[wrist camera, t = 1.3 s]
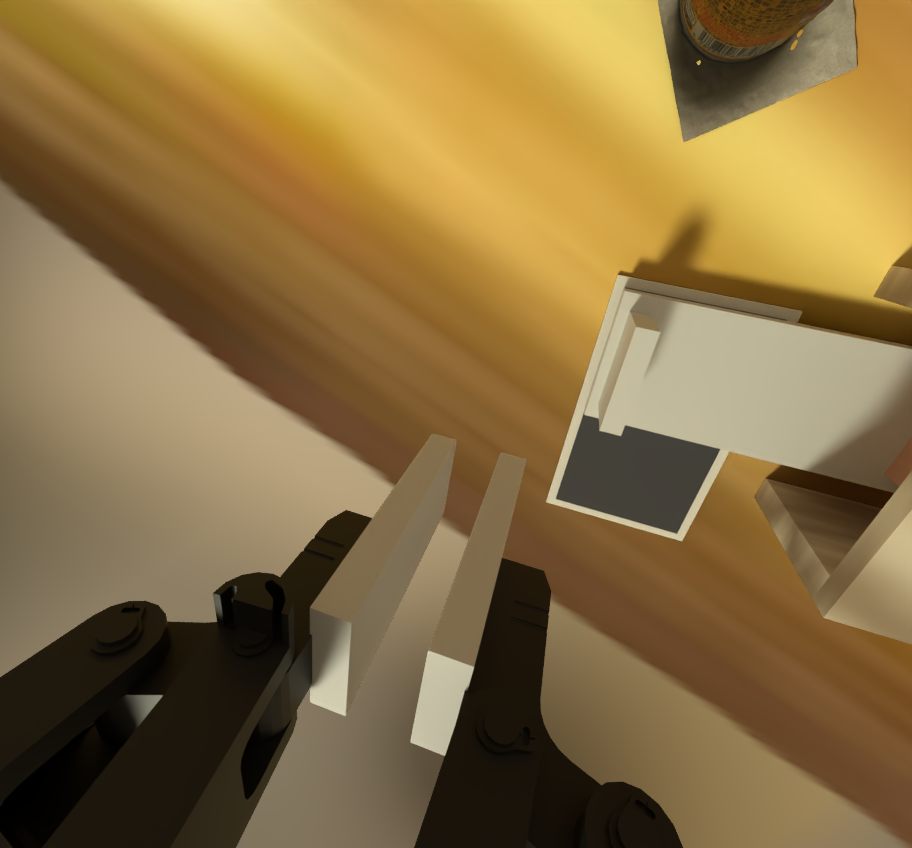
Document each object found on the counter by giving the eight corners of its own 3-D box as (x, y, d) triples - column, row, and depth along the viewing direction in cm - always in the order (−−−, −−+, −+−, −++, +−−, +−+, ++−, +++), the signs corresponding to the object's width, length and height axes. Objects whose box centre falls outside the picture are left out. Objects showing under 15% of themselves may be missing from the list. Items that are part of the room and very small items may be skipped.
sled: (623, 287, 26) (634, 312, 20) (1122, 388, 22) (1331, 459, 16) (584, 407, 30) (583, 460, 24) (1004, 512, 26) (1137, 609, 20)
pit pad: (617, 274, 26) (617, 275, 26) (801, 310, 25) (804, 311, 25) (546, 500, 35) (546, 502, 34) (681, 539, 33) (682, 542, 33)
